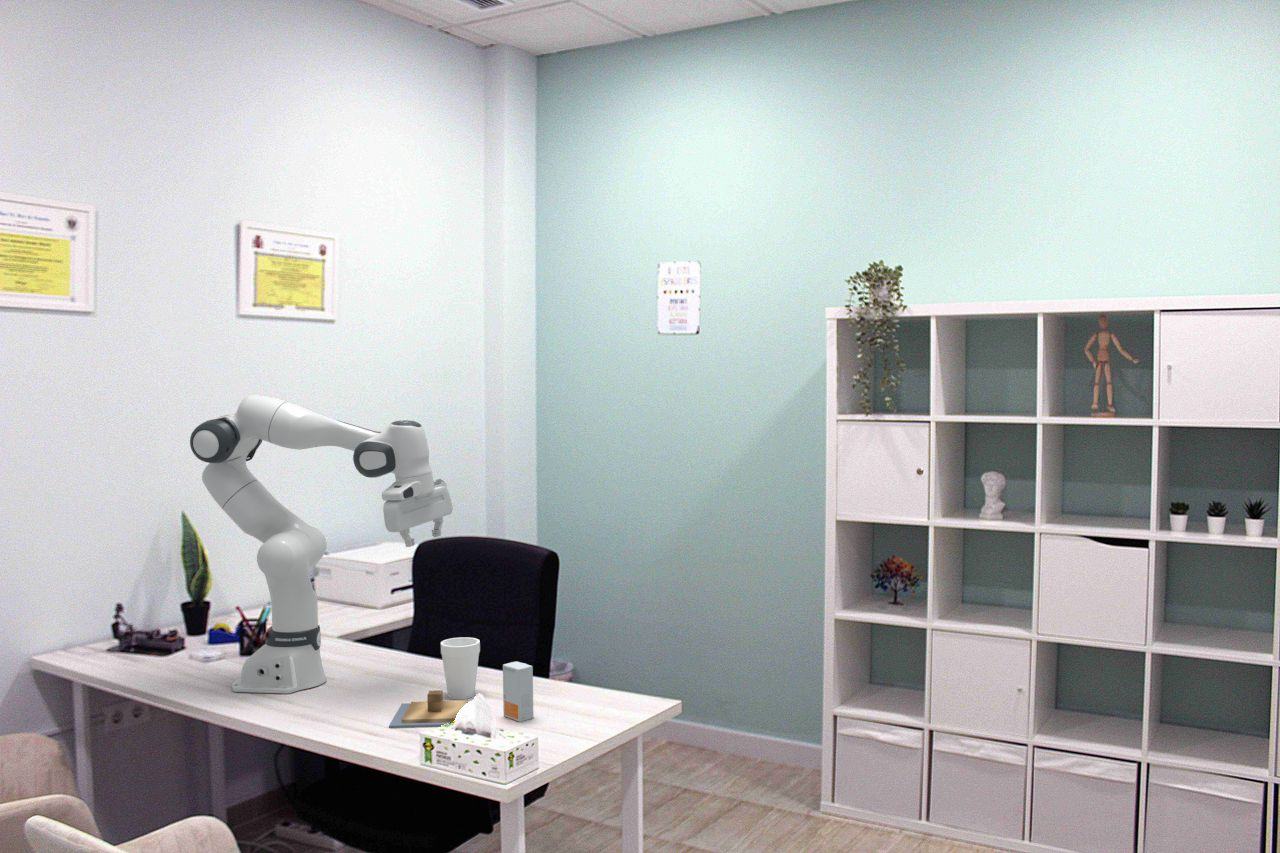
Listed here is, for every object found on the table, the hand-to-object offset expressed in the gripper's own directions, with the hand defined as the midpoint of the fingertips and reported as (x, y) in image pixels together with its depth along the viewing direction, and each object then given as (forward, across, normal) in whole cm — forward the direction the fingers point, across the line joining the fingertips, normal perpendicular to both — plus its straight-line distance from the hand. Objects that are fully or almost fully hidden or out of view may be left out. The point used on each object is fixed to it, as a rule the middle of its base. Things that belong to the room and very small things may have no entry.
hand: (423, 541), depth 263 cm
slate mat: (+36, +19, +14) cm, 43 cm away
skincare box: (+38, +11, +32) cm, 50 cm away
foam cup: (+37, +4, +9) cm, 38 cm away
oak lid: (+35, +19, +14) cm, 42 cm away
